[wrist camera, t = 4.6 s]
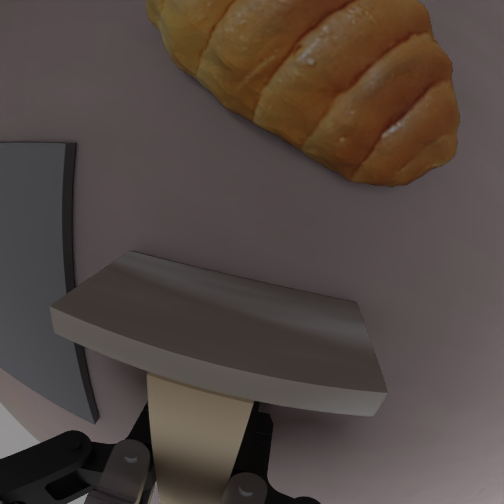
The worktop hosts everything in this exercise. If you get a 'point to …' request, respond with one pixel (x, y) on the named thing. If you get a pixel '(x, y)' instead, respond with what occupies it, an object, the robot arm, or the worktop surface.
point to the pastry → (325, 77)
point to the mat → (39, 273)
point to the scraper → (219, 358)
